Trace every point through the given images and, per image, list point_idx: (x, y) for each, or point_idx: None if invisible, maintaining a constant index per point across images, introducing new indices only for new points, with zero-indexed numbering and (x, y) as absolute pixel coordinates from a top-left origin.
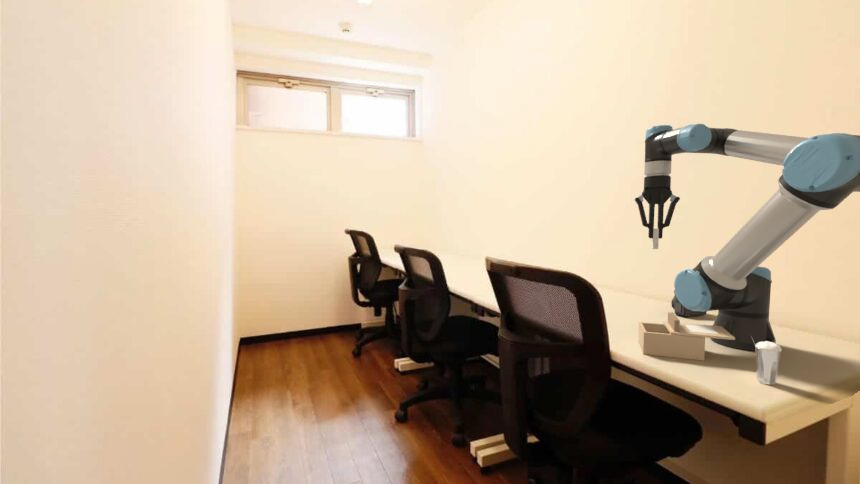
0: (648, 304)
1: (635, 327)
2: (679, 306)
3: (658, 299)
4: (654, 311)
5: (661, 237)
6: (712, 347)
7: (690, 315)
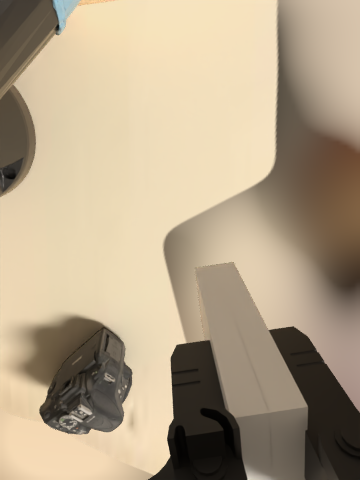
0: None
1: (220, 161)
2: (111, 348)
3: None
4: None
5: (178, 353)
6: None
7: (88, 340)
